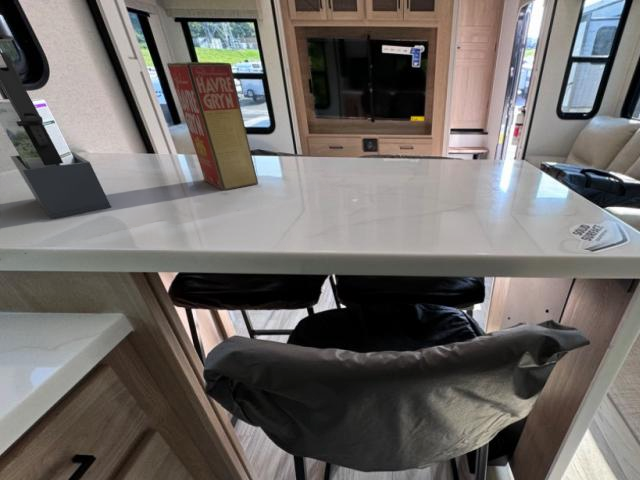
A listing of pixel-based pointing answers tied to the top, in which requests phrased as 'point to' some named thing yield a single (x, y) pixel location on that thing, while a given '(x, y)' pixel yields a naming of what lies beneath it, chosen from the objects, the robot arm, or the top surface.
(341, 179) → the top surface
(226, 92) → the food packaging
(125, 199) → the top surface
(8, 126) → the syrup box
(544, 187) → the top surface
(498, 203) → the top surface
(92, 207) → the dark grey open box
